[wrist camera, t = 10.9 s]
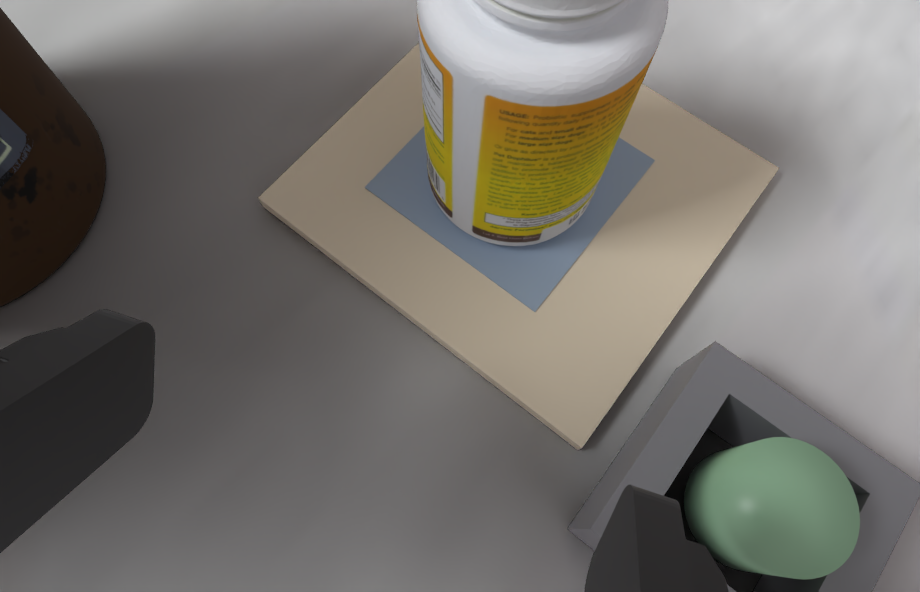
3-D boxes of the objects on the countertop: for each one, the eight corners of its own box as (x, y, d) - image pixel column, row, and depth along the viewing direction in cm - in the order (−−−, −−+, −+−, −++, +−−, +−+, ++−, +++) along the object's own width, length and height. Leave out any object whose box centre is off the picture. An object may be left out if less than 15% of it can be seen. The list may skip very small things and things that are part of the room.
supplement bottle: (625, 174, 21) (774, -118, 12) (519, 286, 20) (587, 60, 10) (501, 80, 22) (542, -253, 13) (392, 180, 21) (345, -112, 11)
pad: (262, 206, 21) (257, 196, 21) (479, -4, 25) (479, -18, 24) (578, 450, 19) (582, 447, 18) (770, 177, 22) (780, 166, 21)
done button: (662, 518, 16) (698, 517, 14) (720, 426, 17) (764, 410, 15) (764, 598, 16) (821, 611, 13) (819, 498, 16) (882, 493, 14)
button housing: (567, 528, 18) (589, 528, 15) (676, 368, 20) (715, 341, 17) (751, 677, 17) (813, 708, 14) (851, 492, 18) (924, 486, 16)
